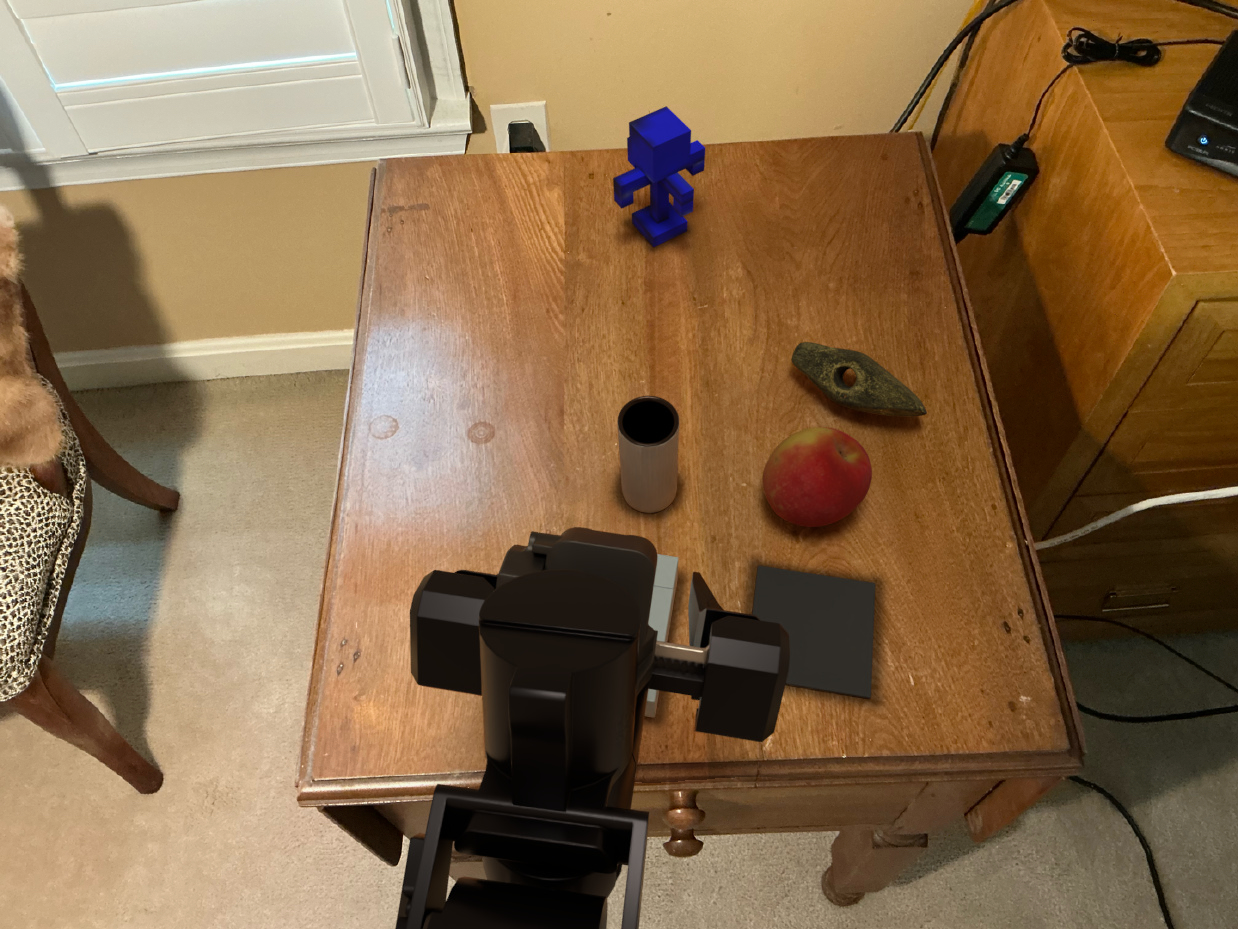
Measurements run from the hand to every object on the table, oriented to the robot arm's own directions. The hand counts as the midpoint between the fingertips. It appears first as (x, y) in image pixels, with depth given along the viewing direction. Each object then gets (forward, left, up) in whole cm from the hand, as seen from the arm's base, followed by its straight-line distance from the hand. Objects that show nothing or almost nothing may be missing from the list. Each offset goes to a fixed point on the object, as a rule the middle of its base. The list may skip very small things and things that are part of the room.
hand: (617, 566), depth 52 cm
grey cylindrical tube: (+14, +1, -16) cm, 22 cm away
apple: (+15, -12, -16) cm, 25 cm away
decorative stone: (+26, -15, -16) cm, 34 cm away
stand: (+1, +3, -16) cm, 16 cm away
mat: (+4, -13, -16) cm, 21 cm away
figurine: (+44, +5, -16) cm, 47 cm away
